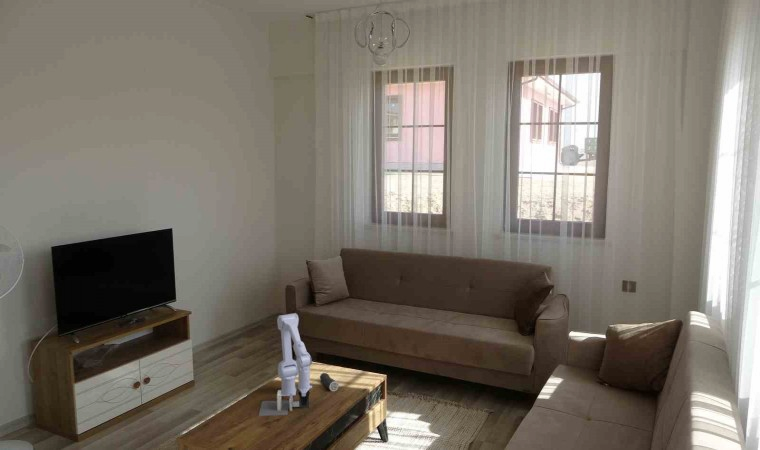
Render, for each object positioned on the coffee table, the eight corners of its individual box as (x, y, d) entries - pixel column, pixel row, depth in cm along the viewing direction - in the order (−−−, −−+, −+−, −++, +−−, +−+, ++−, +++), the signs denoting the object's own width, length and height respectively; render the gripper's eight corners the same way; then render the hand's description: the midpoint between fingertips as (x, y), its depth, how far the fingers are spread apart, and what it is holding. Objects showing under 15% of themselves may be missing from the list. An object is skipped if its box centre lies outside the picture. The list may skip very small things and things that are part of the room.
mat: (262, 402, 293) (262, 401, 293) (289, 401, 295) (289, 400, 294) (258, 416, 277) (258, 415, 277) (287, 415, 279) (287, 414, 279)
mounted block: (290, 404, 291) (290, 393, 290) (309, 403, 292) (309, 392, 291) (289, 411, 283) (289, 400, 282) (309, 410, 284) (308, 399, 283)
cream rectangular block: (277, 405, 289) (277, 390, 288) (281, 404, 289) (281, 390, 288) (277, 410, 283) (276, 395, 282) (280, 410, 283) (280, 395, 282)
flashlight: (318, 382, 320) (318, 372, 319) (327, 380, 323) (327, 371, 322) (329, 392, 307) (329, 382, 306) (338, 390, 309) (338, 380, 308)
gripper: (311, 383, 279) (311, 409, 281) (312, 372, 293) (312, 397, 295) (297, 384, 278) (297, 410, 280) (298, 372, 292) (298, 397, 294)
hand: (304, 403), depth 287 cm, fingers closed on mounted block, 2 cm apart
